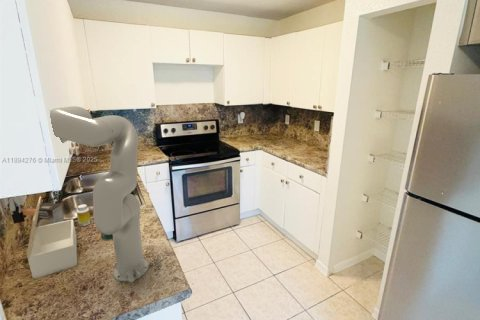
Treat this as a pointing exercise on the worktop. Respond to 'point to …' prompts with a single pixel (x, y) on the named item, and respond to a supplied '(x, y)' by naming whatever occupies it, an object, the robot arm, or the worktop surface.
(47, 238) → the carton
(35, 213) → the lid flap
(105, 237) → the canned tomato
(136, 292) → the worktop surface
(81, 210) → the supplement bottle
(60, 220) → the coffee box
